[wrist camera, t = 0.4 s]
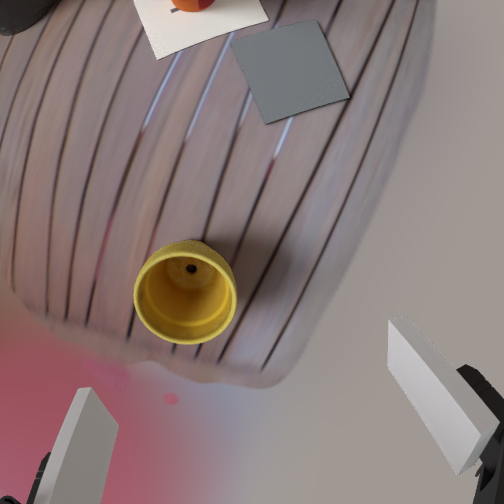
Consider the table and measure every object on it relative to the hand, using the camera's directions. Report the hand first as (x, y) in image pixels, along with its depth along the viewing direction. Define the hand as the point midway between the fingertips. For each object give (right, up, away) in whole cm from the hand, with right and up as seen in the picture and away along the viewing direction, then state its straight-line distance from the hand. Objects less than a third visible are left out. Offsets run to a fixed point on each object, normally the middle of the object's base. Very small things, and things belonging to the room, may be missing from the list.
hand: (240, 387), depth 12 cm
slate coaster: (+5, +27, +20) cm, 34 cm away
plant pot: (-7, +4, +27) cm, 28 cm away
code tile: (-7, +37, +15) cm, 40 cm away
